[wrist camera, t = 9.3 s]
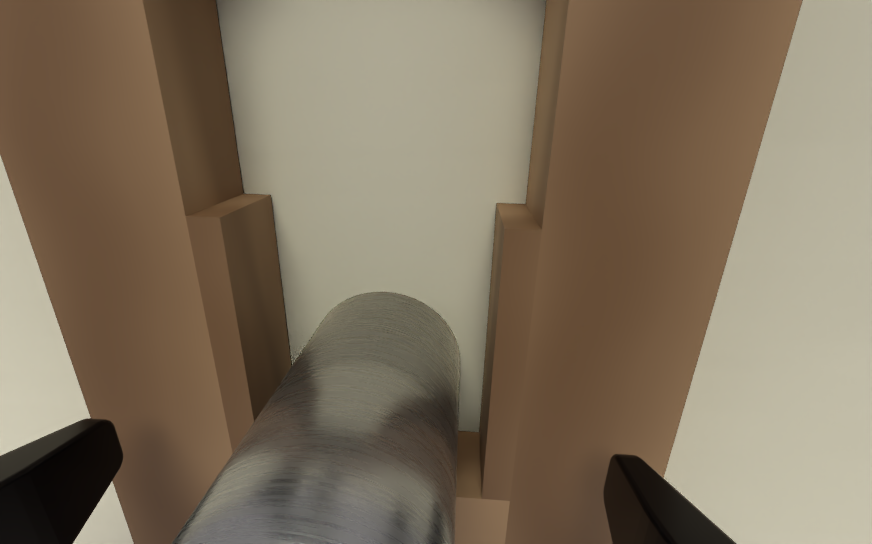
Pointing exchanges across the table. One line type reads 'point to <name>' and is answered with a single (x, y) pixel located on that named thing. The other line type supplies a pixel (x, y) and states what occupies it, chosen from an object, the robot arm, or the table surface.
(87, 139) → the keyhole board
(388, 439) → the peg
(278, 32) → the table surface
